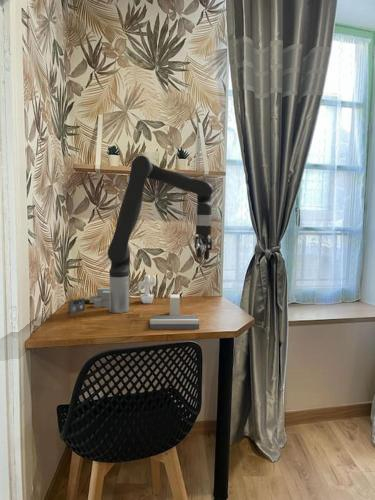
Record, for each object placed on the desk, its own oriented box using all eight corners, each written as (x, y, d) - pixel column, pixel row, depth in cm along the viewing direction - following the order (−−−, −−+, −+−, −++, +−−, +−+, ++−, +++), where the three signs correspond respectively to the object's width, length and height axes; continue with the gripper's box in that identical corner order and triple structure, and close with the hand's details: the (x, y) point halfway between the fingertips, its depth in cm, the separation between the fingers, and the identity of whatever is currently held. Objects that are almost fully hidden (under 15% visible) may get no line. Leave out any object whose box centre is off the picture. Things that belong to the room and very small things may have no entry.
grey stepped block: (91, 302, 169) (91, 287, 168) (113, 302, 170) (113, 287, 169) (85, 308, 157) (85, 292, 156) (109, 307, 158) (109, 292, 157)
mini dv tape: (82, 310, 153) (82, 298, 152) (84, 310, 152) (84, 298, 151) (68, 313, 146) (68, 301, 145) (70, 314, 145) (70, 301, 144)
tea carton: (169, 317, 142) (169, 297, 142) (169, 312, 149) (169, 294, 149) (179, 317, 142) (179, 297, 142) (179, 312, 149) (179, 294, 149)
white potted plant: (138, 300, 172) (138, 274, 171) (155, 300, 173) (155, 273, 172) (138, 304, 165) (138, 276, 164) (156, 303, 166) (156, 275, 165)
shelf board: (150, 328, 126) (150, 320, 125) (152, 319, 137) (152, 311, 137) (199, 328, 126) (199, 320, 126) (197, 319, 138) (197, 311, 138)
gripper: (190, 224, 154) (189, 256, 156) (202, 224, 141) (201, 260, 143) (204, 224, 157) (203, 256, 159) (217, 225, 144) (216, 259, 145)
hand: (202, 258), depth 151 cm, fingers open, 8 cm apart
